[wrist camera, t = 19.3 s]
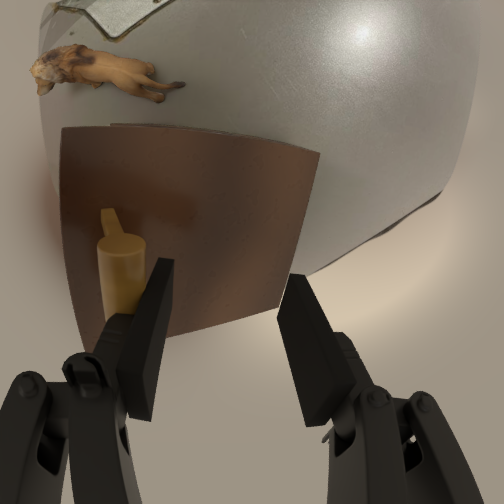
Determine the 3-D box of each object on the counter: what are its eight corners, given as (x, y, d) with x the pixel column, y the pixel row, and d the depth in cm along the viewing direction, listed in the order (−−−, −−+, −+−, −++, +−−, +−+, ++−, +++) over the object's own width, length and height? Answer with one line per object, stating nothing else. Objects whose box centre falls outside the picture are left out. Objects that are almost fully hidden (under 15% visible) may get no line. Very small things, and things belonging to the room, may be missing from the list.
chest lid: (84, 346, 15) (105, 422, 11) (63, 127, 9) (47, 133, 5) (273, 302, 24) (319, 344, 20) (312, 150, 19) (383, 173, 15)
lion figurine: (64, 98, 21) (17, 96, 13) (75, 56, 19) (31, 42, 11) (180, 107, 24) (159, 98, 16) (193, 60, 22) (179, 33, 14)
